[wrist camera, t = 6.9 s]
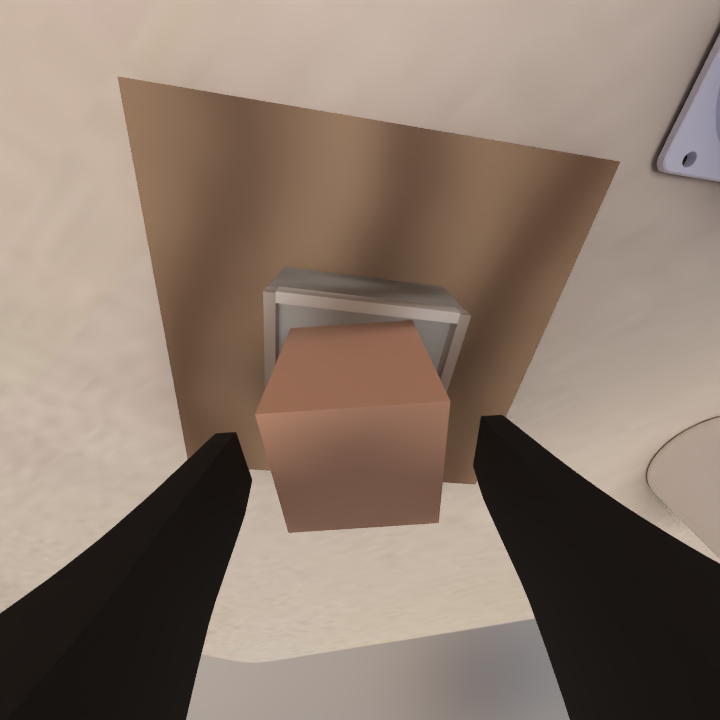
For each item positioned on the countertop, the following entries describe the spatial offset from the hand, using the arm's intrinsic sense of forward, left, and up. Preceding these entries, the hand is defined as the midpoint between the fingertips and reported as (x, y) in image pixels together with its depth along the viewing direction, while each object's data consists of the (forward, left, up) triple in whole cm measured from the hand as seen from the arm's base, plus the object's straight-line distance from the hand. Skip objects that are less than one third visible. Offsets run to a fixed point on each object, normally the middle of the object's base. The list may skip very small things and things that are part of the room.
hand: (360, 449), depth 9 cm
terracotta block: (0, 0, -4) cm, 4 cm away
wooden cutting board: (0, 0, -8) cm, 8 cm away
